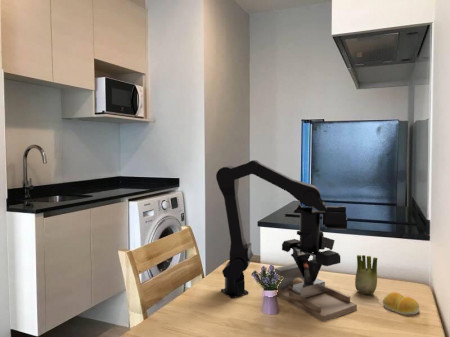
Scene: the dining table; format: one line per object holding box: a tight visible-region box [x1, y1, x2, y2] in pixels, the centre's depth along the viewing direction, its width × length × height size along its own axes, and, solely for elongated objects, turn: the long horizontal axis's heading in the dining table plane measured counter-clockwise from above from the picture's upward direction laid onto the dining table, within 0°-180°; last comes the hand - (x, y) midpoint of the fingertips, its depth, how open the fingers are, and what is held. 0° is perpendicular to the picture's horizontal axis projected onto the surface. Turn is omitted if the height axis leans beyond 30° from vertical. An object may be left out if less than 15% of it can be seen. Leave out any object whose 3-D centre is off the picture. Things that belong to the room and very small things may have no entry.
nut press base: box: [273, 262, 358, 323], centre depth 108 cm, size 22×13×8 cm, turn 32°
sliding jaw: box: [293, 260, 326, 298], centre depth 109 cm, size 4×10×9 cm, turn 122°
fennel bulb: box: [354, 254, 378, 296], centre depth 113 cm, size 6×5×12 cm
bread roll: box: [382, 291, 420, 316], centre depth 104 cm, size 8×9×4 cm
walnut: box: [293, 278, 304, 285], centre depth 113 cm, size 4×4×4 cm
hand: (309, 279), depth 109 cm, fingers closed on sliding jaw, 3 cm apart
